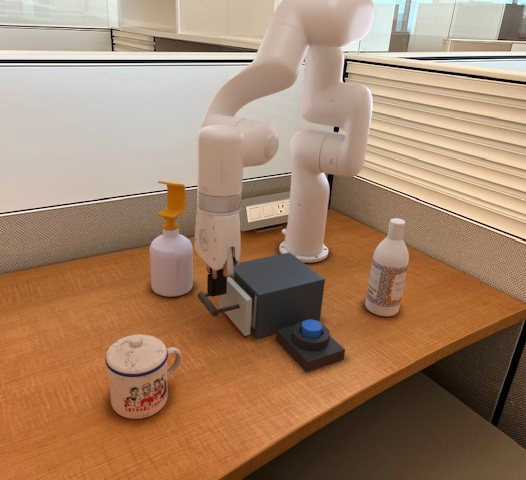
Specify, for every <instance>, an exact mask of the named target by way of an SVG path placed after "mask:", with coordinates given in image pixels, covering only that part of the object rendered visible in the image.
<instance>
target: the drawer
mask: <svg viewBox="0 0 526 480" xmlns="http://www.w3.org/2000/svg"><path fill="white" fill-rule="evenodd" d="M196 296H197V299H198V300H199V301H200V302H201V303H202V305H203V306H204V307H205V308H206V310H207V311H208V312H209V313H210V315H211V316H212V317H213V318H214V317H215V318H216V317H218V316H219V315H220V314H221V313H224V314H225V315H226V316H227V317H228V318H229V320H230V321H231V322H232V324H234V326H235V327H236V328H237V329H238V330H239V331H240V332H241V334H242V335H243V336H244V337H246V336H250V335H251V332H250V329H251V326H252V327H253V328H254V329H255V319H256V303H257V296H256V295H255V294H254V293H253V292H252V291H251V290H250V289H249V288H248V287H246V286H245V285H244V284H243V283H242V282H241V281H240V280H239V279H238V278H237V277H236V276H235V275H234V276H232V278H231V277H227V292H226V294H223V295H219V296H218V307H219V308H217V307H216V306H215V304H213V302H212V301H211V300H210V298H209V297H211V296H210V294H209V293H208V292H203V291H199V292H198V293H197V294H196Z"/></svg>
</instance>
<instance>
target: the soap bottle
mask: <svg viewBox="0 0 526 480" xmlns="http://www.w3.org/2000/svg"><path fill="white" fill-rule="evenodd" d="M157 183H158V184H160V185H166V189H167V190H166V191H167V194H166V195H167V204H166V207H164V208H163V209H161V210H159V212H157V217H161V218H163V219H164V220H166V222H165V223H163V224H162V234H160V235H158V236H156V237H155V238H154V239H153V240H152V241H151V243H150V246H149V264H150V287H151V289H152V291H153V292H154V293H155V294H156V295H160V296H162V297H168V298H169V297H180V296H183V295H185V294H187V293H189V292H190V291H191V290H192V289H193V287H194V246H193V244H192V241H191V240H190V239H189V238H187V237H186V236H185V235H183V234H180V225H179V223H178V222H175V220H177V219H178V217H179V216H181V215H182V214H183V213H185V211H186V205H187V204H186V201H187V200H186V198H187V197H186V186H185V184H183V183H178V182H172V181H166V180H158V181H157Z"/></svg>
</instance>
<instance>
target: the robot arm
mask: <svg viewBox="0 0 526 480" xmlns="http://www.w3.org/2000/svg"><path fill="white" fill-rule="evenodd" d="M374 18H375V6H374V2H373V0H281V1H280V2H279V3H278V5H277V7H276V8H275V10H274V12H273V15H272V17H271V19H270V22H269V24H268V27H267V28H266V31H265V33H264V35H263V38H262V41H261V43H260V45H259V47H258V50H257V51H256V54H255V57H254V59H253V60H252V61H251V62H250V63H249V64H247V65H246V66H245V67H243V68H242V69H240V70H238V71H237V72H236V73H235V74H233V76H231V77H230V78H229V79H228V80H226V81H225V82H224V83H223V84H222V85H220V87H219V88H217V90H216V92H214V95H213V96H212V97H211V100H210V102H209V104H208V107H207V109H206V111H205V113H204V115H203V118H202V120H201V123H200V126H199V132H198V134H197V175H196V176H197V181H196V183H197V186H196V187H197V189H196V190H197V191H196V192H197V193H196V195H197V196H196V207H197V208H196V214H195V225H194V246H193V249H194V251H195V253H196V254H197V255H198V257H200V258H201V260H203V262H205V264H206V272H207V283H206V284H207V287H206V289H207V291H206V293H209V294H210V296H209V297H211V298H215V297H217V296H218V297H219V295H223V294H226V292H227V277H232V276H234V267H233V266H235V267H236V266H238V265H239V263H240V261H241V247H242V245H241V241H242V239H241V238H242V237H241V218H240V212H241V210H242V199H243V198H242V197H243V175H244V173H243V172H244V168H248V167H249V168H250V167H259V166H263V165H265V164H267V163H269V162H270V161H271V160H273V159H274V158H275V156H276V154H277V152H278V150H279V146H280V137H279V133H278V131H277V130H276V128H275V127H274V126H272V125H271V124H269V123H267V122H265V121H261V120H254V119H247V118H243V117H237V116H236V114H237V113H238V112H239V111H240V110H241V109H242V108H243V107H245V106H246V105H247V104H249V103H251V102H254V101H256V100H259V99H261V98H264V97H268V96H271V95H274V94H277V93H280V92H282V91H285V90H287V89H290V88H291V87H292V86H294V84H296V81H297V80H298V76H299V74H300V72H301V69H302V67H304V69H303V80H302V89H301V97H300V114H301V117H302V118H303V119H304V120H305V121H306V122H309V123H311V124H316V125H321V126H327V127H328V126H330V127H336V128H341V129H343V130H344V133H342V132H337V131H333V130H332V131H330V130H325V129H319V128H304V129H300V130H298V131H297V132H295V133H294V134H293V135H292V137H291V140H290V143H289V158H290V160H289V161H290V172H291V173H290V190H289V191H290V192H289V204H288V214H287V215H288V216H287V225H286V228H283V229H282V230H281V234H282V235H284V240H283V241H282V242H281V243H280V244H279V247H278V248H279V250H278V251H279V254H284V253H289V252H290V253H291V254H292V255H294V256H295V257H296V258H298V259H299V260H300V261H302V262H303V263H304V264H306V263H307V264H311V263H318V262H321V261H324V260H326V258H328V256H329V248H328V247H327V245H325V244H324V240H325V233H326V226H327V218H328V217H327V216H328V209H329V200H330V183H329V180H328V179H327V176H326V174H327V175H332V176H339V177H343V178H344V177H345V178H353V177H356V176H357V175H359V173H360V172H361V171H362V169H363V166H364V162H365V159H366V153H367V148H368V140H369V134H370V127H371V123H372V122H371V121H372V116H373V115H372V114H373V108H374V107H373V106H374V102H373V101H374V100H373V94H372V92H371V90H370V89H369V88H368V87H367V86H365V85H363V84H359V83H350V82H344V81H343V76H344V75H343V74H344V65H345V55H344V52H343V49H342V48H343V47H347V46H350V45H352V44H354V43H357V42H360V41H362V40H363V39H364V38H365V37H366V36H367V35H368V34H369V32H370V31H371V28H372V27H373V24H374ZM303 65H304V66H303Z"/></svg>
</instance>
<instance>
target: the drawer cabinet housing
mask: <svg viewBox="0 0 526 480" xmlns="http://www.w3.org/2000/svg"><path fill="white" fill-rule="evenodd" d="M233 267H234V275H235V276H236V277H237V278H238V279H239V280H240V281H241V282H242V283H243V284H244V285H245V286H246V287H248V288H249V289H250V290H251V291H252V292H253V293H254V294H255V295H256V296H257V303H256V319H255V329H254V328H253V327H252V326H251V329H250V334H251V335H252V336H253V337H254V339H256V340H258V339H261V338H264V337H268V336H271V335H275V334H277V330H279V329H283V328H286V327H290V326H293V325H296V324H297V323H299V322H302V321H305V320H309V319H311V320H316V321H318V322H320V320H321V314H322V308H323V307H322V306H323V298H324V292H325V291H324V290H325V282H326V279H325V278H324V277H323V276H322V275H320V273H318V272H317V271H315V270H314V269H313V268H311V267H310V266H308V265H307V264H306V263H304V262H302V261H300V260H299V259H298V258H296V257H295V256H294V255H292V254H291V253H290V252H289V253H284V254H281V253H279V254H275V255H269V256H264V257H260V258H255V259H250V260H246V261H241V262H240V261H239V265H238V266H236V267H235V266H233ZM231 278H232V277H231Z"/></svg>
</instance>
